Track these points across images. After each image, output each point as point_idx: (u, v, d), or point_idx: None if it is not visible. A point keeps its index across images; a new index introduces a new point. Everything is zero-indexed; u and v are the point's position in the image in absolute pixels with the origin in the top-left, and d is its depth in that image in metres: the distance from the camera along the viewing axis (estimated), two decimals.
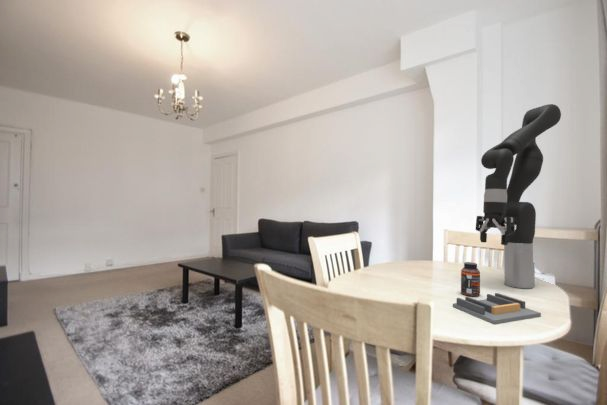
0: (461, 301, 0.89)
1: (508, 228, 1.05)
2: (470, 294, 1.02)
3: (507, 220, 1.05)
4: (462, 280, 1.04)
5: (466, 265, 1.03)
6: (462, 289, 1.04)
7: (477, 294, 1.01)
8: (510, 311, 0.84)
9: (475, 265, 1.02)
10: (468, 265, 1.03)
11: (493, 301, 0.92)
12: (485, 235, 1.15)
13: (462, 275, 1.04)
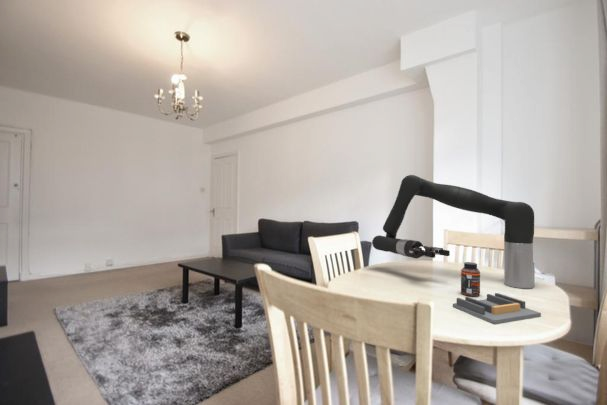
0: (461, 301, 0.89)
1: (417, 255, 1.16)
2: (470, 294, 1.02)
3: (412, 254, 1.19)
4: (462, 280, 1.04)
5: (466, 265, 1.03)
6: (462, 289, 1.04)
7: (477, 294, 1.01)
8: (510, 311, 0.84)
9: (475, 265, 1.02)
10: (468, 265, 1.03)
11: (493, 301, 0.92)
12: (442, 251, 1.18)
13: (462, 275, 1.04)
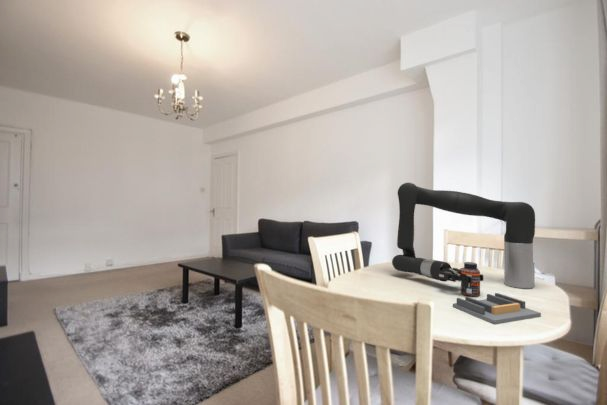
0: (461, 301, 0.89)
1: None
2: (470, 294, 1.02)
3: None
4: None
5: (466, 265, 1.03)
6: (462, 289, 1.04)
7: (477, 294, 1.01)
8: (510, 311, 0.84)
9: (475, 265, 1.02)
10: (468, 265, 1.03)
11: (493, 301, 0.92)
12: None
13: None
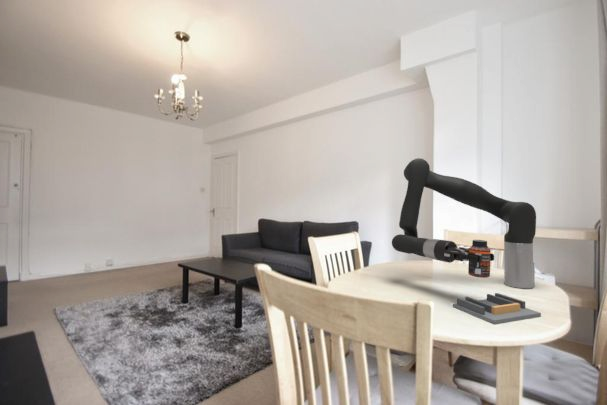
0: (461, 301, 0.89)
1: None
2: (479, 275, 0.90)
3: (448, 258, 0.96)
4: None
5: (475, 243, 0.92)
6: (470, 269, 0.92)
7: (487, 275, 0.90)
8: (510, 311, 0.84)
9: (485, 242, 0.91)
10: (477, 242, 0.91)
11: (493, 301, 0.92)
12: None
13: None
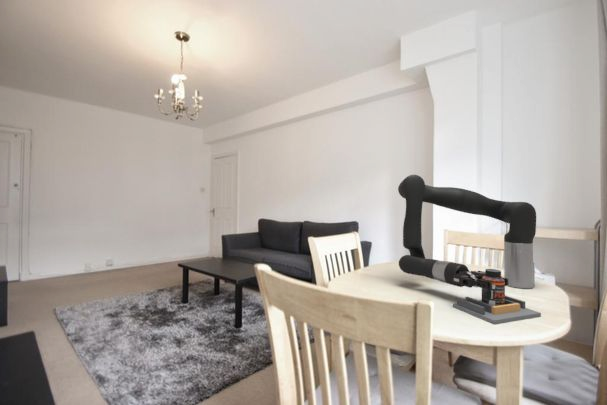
0: (461, 301, 0.89)
1: None
2: None
3: None
4: (483, 290, 0.88)
5: (488, 272, 0.88)
6: (483, 301, 0.88)
7: None
8: (510, 311, 0.84)
9: (499, 273, 0.87)
10: (491, 273, 0.87)
11: None
12: None
13: None
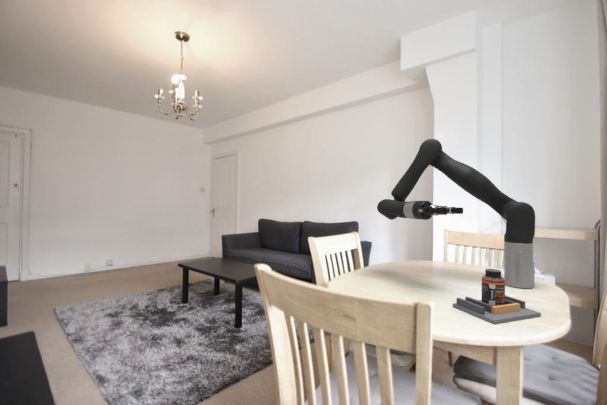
0: (461, 301, 0.89)
1: (427, 213, 1.06)
2: None
3: (422, 213, 1.09)
4: (483, 290, 0.88)
5: (488, 273, 0.88)
6: (483, 301, 0.88)
7: None
8: (510, 311, 0.84)
9: (499, 273, 0.87)
10: (491, 273, 0.87)
11: None
12: (454, 209, 1.08)
13: (483, 284, 0.88)
